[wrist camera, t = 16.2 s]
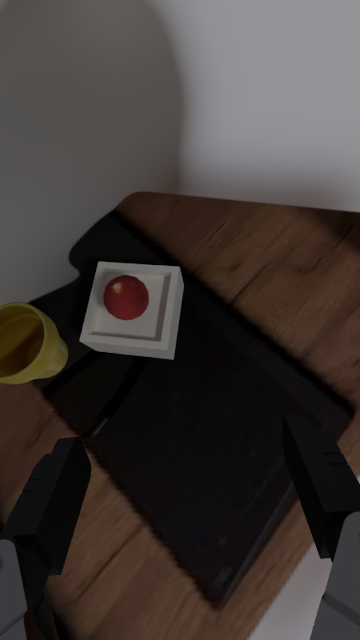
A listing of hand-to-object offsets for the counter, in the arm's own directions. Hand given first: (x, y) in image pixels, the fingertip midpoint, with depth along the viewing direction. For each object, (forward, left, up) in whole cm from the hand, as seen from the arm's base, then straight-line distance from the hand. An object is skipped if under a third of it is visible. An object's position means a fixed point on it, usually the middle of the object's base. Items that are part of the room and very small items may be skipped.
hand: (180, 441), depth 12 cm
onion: (+8, -17, -26) cm, 32 cm away
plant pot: (+23, -13, -31) cm, 41 cm away
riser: (+8, -17, -31) cm, 36 cm away
